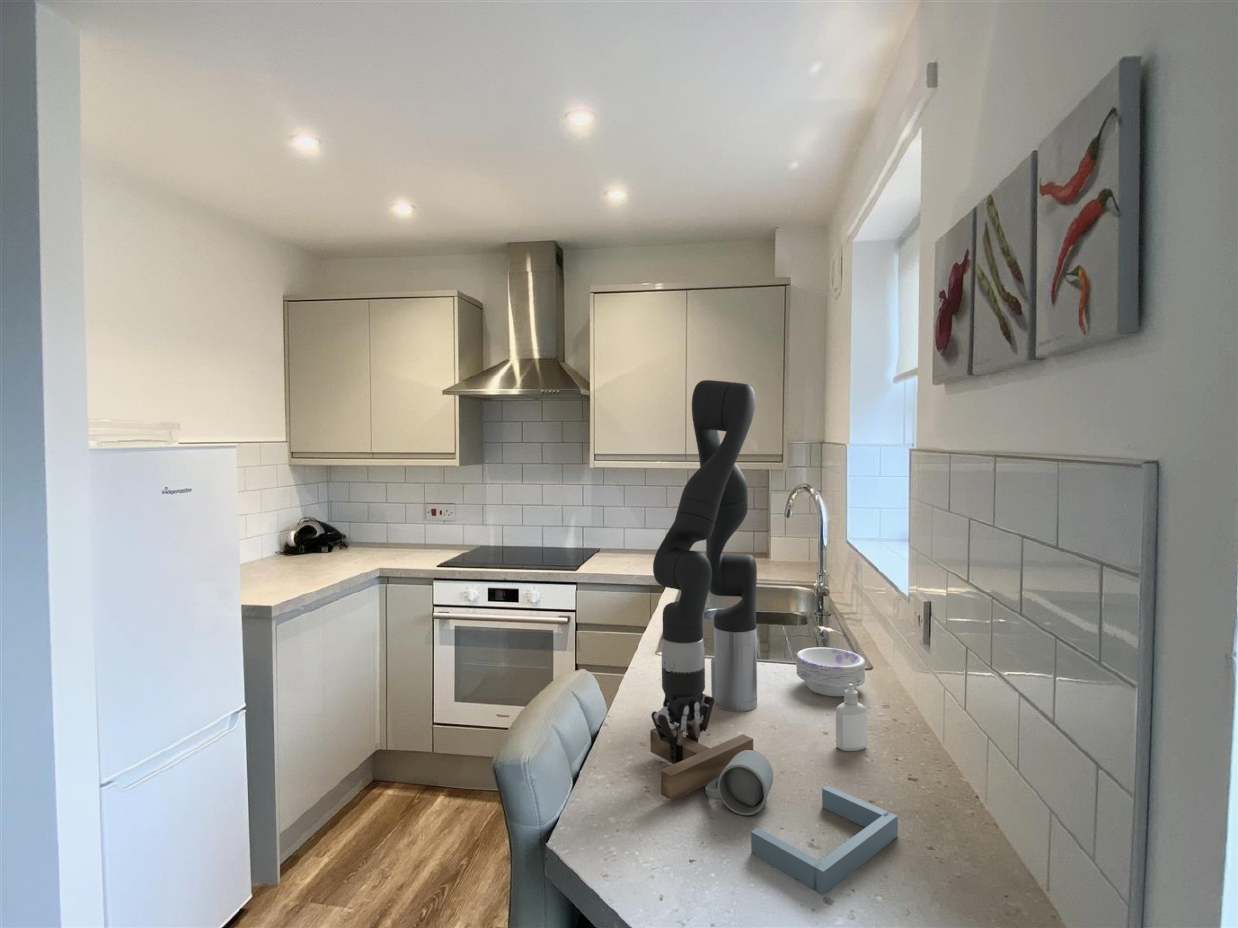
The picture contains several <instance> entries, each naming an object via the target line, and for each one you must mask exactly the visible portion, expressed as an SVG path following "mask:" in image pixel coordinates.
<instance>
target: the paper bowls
mask: <svg viewBox="0 0 1238 928" xmlns="http://www.w3.org/2000/svg"><path fill="white" fill-rule="evenodd" d="M865 663H866V661H865V659H864V657H862V655H860V654H857V653H855V652H852V651H848V650H845V649H841V648H836V647H835V648H834V647H833V648H832V647H824V646H823V647H822V646H821V647H818V646H817V647H808V648H803V649H801V650H799V651H798V652H797V654H796V665H795V666H796V675H797V677H799V678H800V679H801V680H803V681H804V683H805V684H806V686H807V688H808V689H809V690H810V691H812V692H814V693H816V694H819V695H823V696H828V697H844V691H845V690H846V689H848V687H849V684H853V687H854V690H856V688H857V687H860V686H862V685H864V684H865V682H866V671H865V670H866V664H865Z"/></svg>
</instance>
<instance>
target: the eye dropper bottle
mask: <svg viewBox="0 0 1238 928" xmlns="http://www.w3.org/2000/svg"><path fill="white" fill-rule="evenodd" d="M858 694H859V692H858V691H857V690H856V689H854V687H853V684H849V687H848V689H846V690H845V691H844V696H843V697H844V698H843V701H844V702H842V703H840V704H839V705H837V707H836V708H835V746H836V747H837V748H838V749H839V750H841V751H842V752H857V751H862V750H865V749H866V748H867V746H868V718H867V717H868V715H867V713H868V712H867V708H866V706H865V705H864V704H862V703H861V702H859V695H858Z"/></svg>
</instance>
